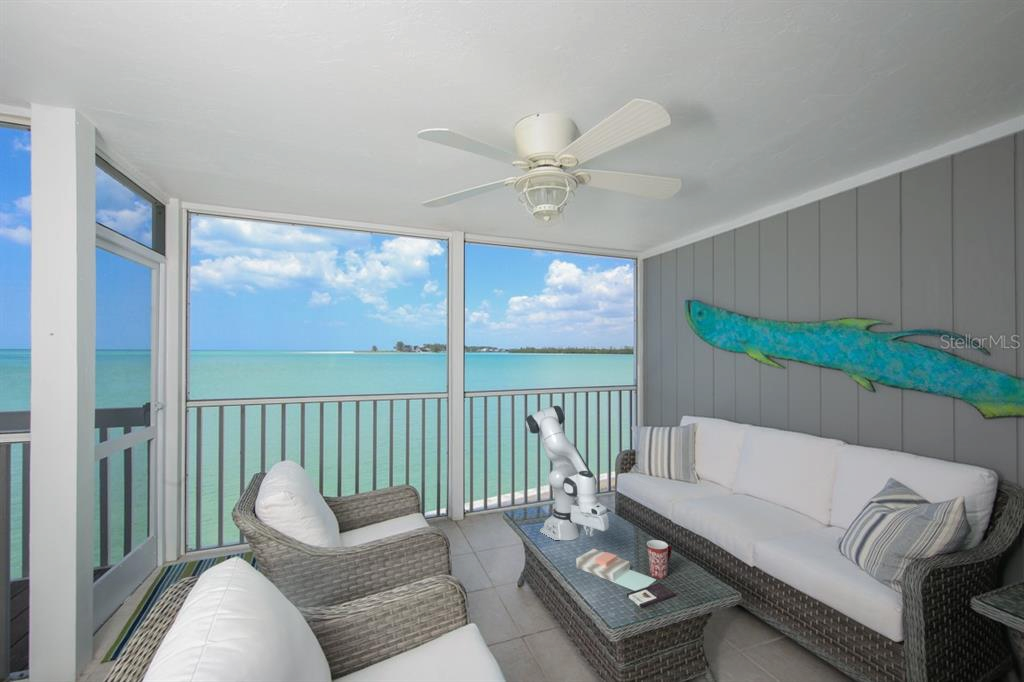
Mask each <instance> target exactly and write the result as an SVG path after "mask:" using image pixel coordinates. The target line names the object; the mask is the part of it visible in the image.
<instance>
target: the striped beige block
mask: <svg viewBox="0 0 1024 682" xmlns="http://www.w3.org/2000/svg"><path fill="white" fill-rule="evenodd" d="M603 553H605V552H604V551H601V550H599V549H595V548H592V549H591V550H589V551H587V552H585V553H584V554H582V555H580V556H579V557H576V558H575V561H576V565H575V566H576V569H579V570H583V571H584V572H587V573H590V574H592V575H595V576H597V577H599V578H602V579H605V580H607V581H610V582H611V581H615V580H616V579H618V578H619V577H620V576H622V575H623V574H625V573H626V572H627V571H629V570H631V566H630V561H629V560H626V559H623V558H620V557H618V556H617V561H615V562H614V563H612V564H611V565H609V566H607V567H605V566H602V565H599V564H597V563H595V558H597V557H598V556H600V555H602V554H603Z"/></svg>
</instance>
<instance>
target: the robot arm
mask: <svg viewBox="0 0 1024 682" xmlns="http://www.w3.org/2000/svg"><path fill="white" fill-rule="evenodd" d="M565 419H566V417H565V412H564V410H563V409H562V407H561V406H560V405H554V406H550V407H548V408H547V407H546V408H544V409H541V410H539V411H537V412H535V413H533V414H529V415H528V416H527V417H526V418H525V427H526V429H527V430H528V432H530V433H531V434H539V438H540V441H541V442H540V443H541V444H542V448H543V451H544V452H545V456H546V457H547V459H549V460H550V461H551V463H552V465H553V466H554V468H553V469H552V470H551V471H550V473H549V474H548V482H549V484H550V486H551V487H552V490H553V494H554V508H553V509H551V511H550V512H551V513H552V515H551V516H549V517H548V518H547V519H545V521H544V524H543V526H542V527H541V528H540V529H539V533H540V532H541V533H540V534H542V533H543V534H542V535H544V534H545V535H544V536H546V535H547V536H546V537H548V538H549V537H550V538H549V539H551V538H552V539H551V540H553V539H554V541H555V540H560V541H573V540H576V539H578V538H579V537H580V533H579V530H578V525H581V526H583V529H584V531H585V533H586V534H585V536H589V537H594V532H595V530H598V531H602V532H605V531H607V530H608V529H609V528H610V526H609V525H610V524H609V522H610V521H609V516H608V513H607V511H608V509H607V507H606V505H605V506H604V505H603V504H601V503H600V502H599V501H598V499H597V478H596V476H595V475H594V473H593V472H592V471H591V469H590V468H589V467H588V465H587V464H586V462H585V460H584V458H583V456H582V454H581V453H580V452H579V449H578V448H577V447H576V445H574V443H572V442H571V441H570V440H569V439H568V438H567V436H566V434H565V432H564V429H563V428H562V426H561V425H562V424H563V423H564V421H565ZM576 497H577V499H578V503H576Z"/></svg>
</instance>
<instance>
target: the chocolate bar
mask: <svg viewBox="0 0 1024 682" xmlns="http://www.w3.org/2000/svg"><path fill="white" fill-rule="evenodd" d="M676 596H677V593H675V592H674V591H673V590H671V589H670V588H668V587H667V586H666V585H664V584H663V583H662V582H658V583H655V584H654V583H653V584H651V585H650V586H648V587H645V588H642V589H639V590H636V591H634V590H632V591H630V592H628V593H627V592H626V597H628V599H630V600H631V601H632V602H634V603H635V604H636V605H637V606H639V608H641V609H643V608H644V609H645V608H646V607H647V608H648V607H650V606H652V605H655V604H658V603H660V602H663V601H665V600H669V599H672V598H674V597H676Z"/></svg>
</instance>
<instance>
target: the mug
mask: <svg viewBox="0 0 1024 682" xmlns="http://www.w3.org/2000/svg"><path fill="white" fill-rule="evenodd" d="M646 545H647V552H648V562H649V573H650V575H651V576H652V578H653V577H654V578H657V579H664V578H667V577H668V565H669V562H670V559H671V557H672V556H671V555H672V552H673V551H672V546H671V545H670V544H668V543H667V542H665V541H663V540H659V539H658V540H657V539H652V540H648V541H647V542H646Z"/></svg>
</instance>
